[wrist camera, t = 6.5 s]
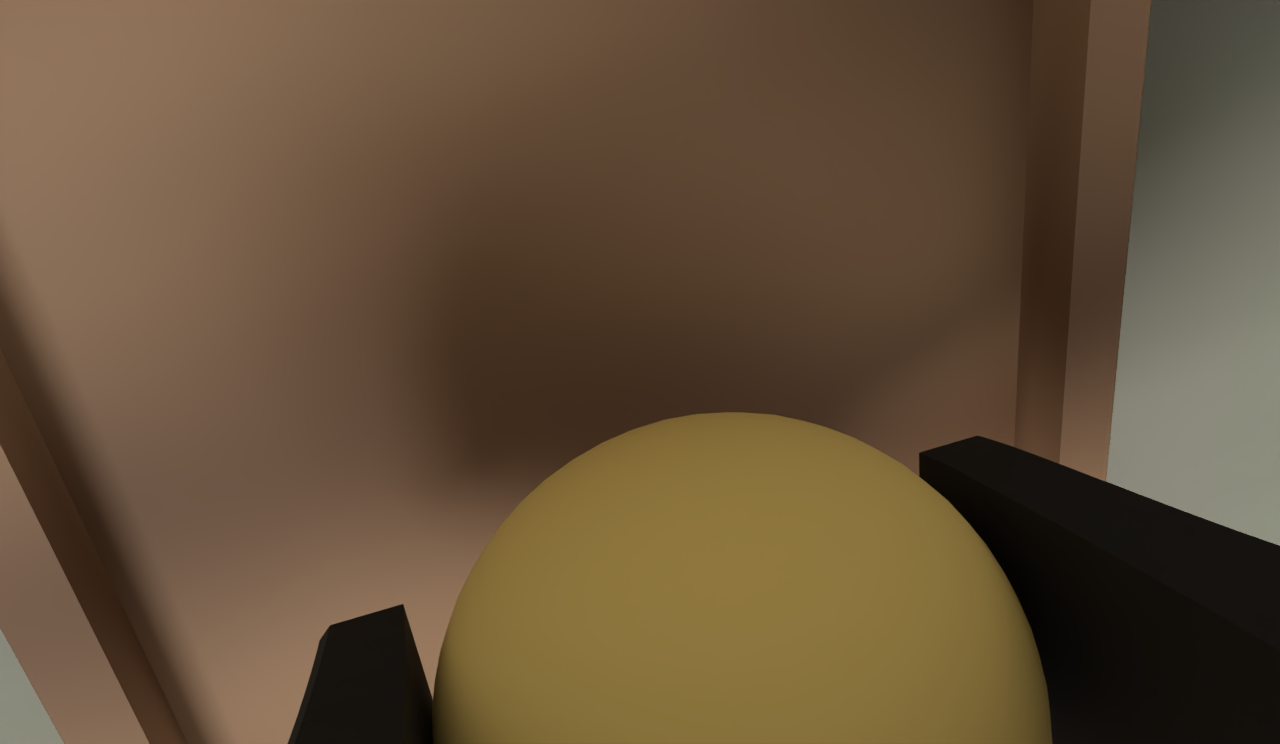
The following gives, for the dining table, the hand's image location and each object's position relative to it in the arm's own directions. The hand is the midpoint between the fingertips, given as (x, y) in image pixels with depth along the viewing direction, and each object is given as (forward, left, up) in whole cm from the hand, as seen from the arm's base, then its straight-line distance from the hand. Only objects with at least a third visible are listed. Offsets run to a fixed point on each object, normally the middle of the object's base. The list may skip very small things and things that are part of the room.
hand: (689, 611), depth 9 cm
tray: (0, 0, -3) cm, 3 cm away
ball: (0, 0, +1) cm, 1 cm away
